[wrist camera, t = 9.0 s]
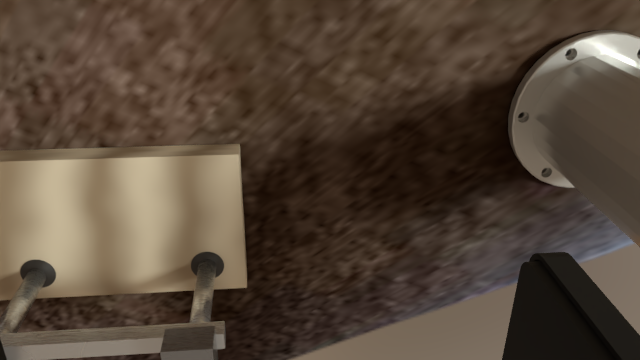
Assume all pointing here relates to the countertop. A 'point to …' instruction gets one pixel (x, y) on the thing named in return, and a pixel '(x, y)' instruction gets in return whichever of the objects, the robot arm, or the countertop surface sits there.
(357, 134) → the countertop surface
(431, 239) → the countertop surface
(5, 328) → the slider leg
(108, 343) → the frame
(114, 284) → the board
